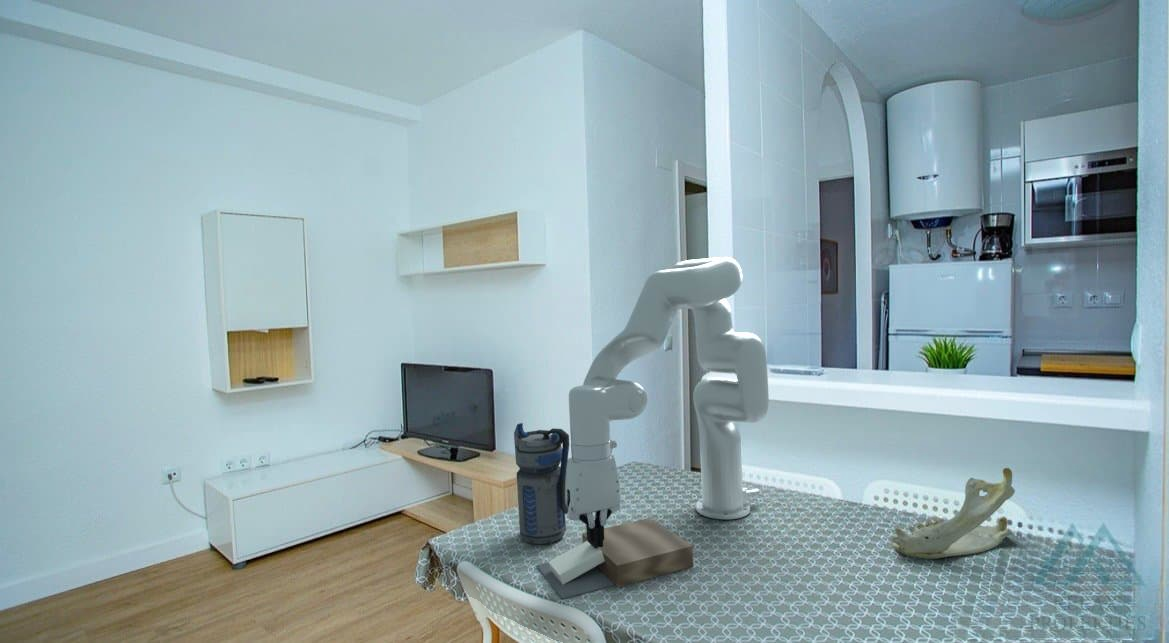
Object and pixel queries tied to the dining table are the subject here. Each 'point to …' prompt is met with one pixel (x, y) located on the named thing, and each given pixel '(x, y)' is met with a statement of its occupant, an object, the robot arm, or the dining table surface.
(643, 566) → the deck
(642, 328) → the robot arm
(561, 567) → the pale grey flat tile
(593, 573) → the mat
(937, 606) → the dining table surface
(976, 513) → the jawbone
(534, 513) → the beverage bottle
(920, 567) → the dining table surface
